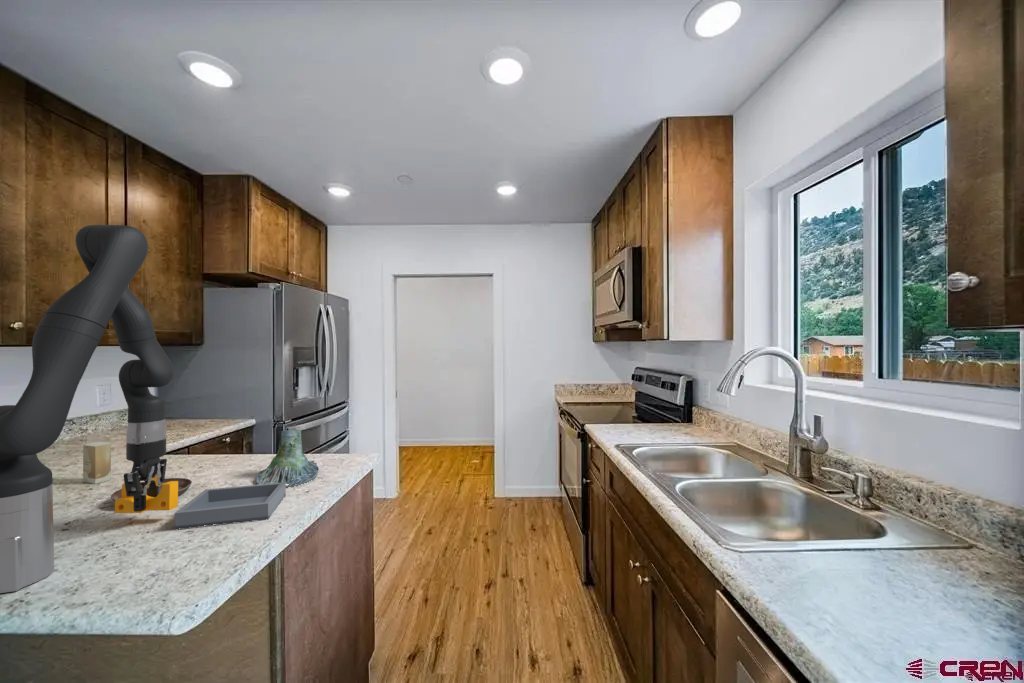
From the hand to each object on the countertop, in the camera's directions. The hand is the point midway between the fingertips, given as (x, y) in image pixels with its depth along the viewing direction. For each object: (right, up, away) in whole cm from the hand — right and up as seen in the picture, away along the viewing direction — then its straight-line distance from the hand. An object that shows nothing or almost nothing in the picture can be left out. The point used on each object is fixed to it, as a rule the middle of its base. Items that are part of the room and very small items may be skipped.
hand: (146, 506), depth 103 cm
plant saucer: (-12, -4, +16) cm, 20 cm away
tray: (+19, -4, +6) cm, 20 cm away
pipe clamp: (0, -1, 0) cm, 1 cm away
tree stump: (+19, -4, +31) cm, 37 cm away
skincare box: (-43, -4, +30) cm, 53 cm away
